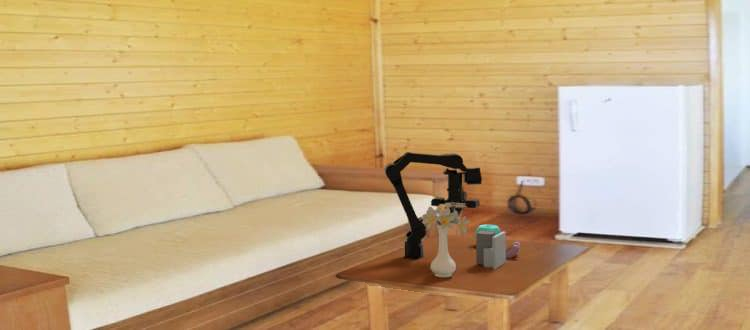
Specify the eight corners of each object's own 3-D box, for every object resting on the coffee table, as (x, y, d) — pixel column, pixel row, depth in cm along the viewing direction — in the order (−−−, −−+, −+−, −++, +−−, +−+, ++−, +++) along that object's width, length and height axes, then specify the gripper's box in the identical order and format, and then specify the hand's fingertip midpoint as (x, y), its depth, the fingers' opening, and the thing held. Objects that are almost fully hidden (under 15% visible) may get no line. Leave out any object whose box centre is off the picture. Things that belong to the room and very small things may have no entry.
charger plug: (476, 264, 328) (476, 233, 327) (480, 261, 333) (480, 230, 331) (495, 265, 325) (494, 234, 323) (499, 263, 329) (499, 232, 328)
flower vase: (461, 282, 302) (460, 212, 299) (414, 276, 312) (413, 208, 309) (476, 274, 313) (475, 206, 311) (430, 269, 323) (430, 203, 320)
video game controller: (514, 262, 337) (522, 247, 336) (504, 257, 338) (512, 242, 337) (515, 257, 347) (523, 242, 346) (504, 252, 347) (512, 237, 346)
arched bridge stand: (482, 267, 323) (482, 236, 322) (492, 261, 334) (492, 230, 333) (495, 268, 321) (495, 237, 320) (505, 262, 332) (505, 231, 330)
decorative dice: (475, 244, 365) (474, 226, 364) (487, 242, 370) (487, 223, 369) (489, 247, 359) (489, 228, 358) (501, 244, 364) (501, 226, 363)
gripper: (483, 183, 344) (483, 221, 346) (440, 181, 352) (440, 219, 354) (475, 187, 334) (475, 226, 336) (430, 185, 342) (430, 223, 344)
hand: (455, 223), depth 343 cm, fingers closed
